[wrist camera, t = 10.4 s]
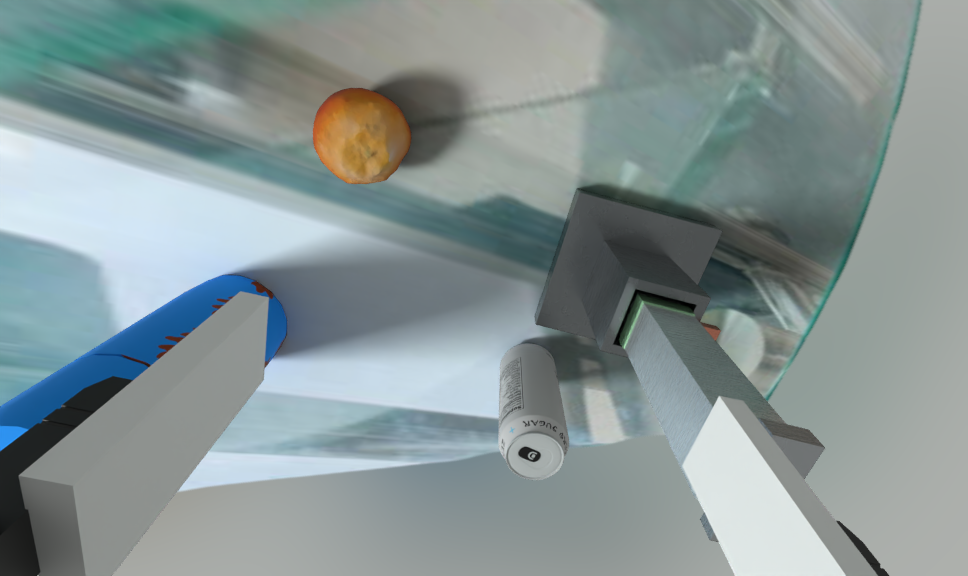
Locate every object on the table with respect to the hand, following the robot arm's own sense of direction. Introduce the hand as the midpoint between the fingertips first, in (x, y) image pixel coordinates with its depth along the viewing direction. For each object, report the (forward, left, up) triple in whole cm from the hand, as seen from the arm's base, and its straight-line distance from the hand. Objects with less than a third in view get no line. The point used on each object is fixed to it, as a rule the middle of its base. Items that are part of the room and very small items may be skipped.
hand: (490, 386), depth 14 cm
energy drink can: (+18, +8, -35) cm, 40 cm away
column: (+6, +14, -27) cm, 31 cm away
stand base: (+6, +14, -35) cm, 38 cm away
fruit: (-1, -13, -35) cm, 37 cm away
